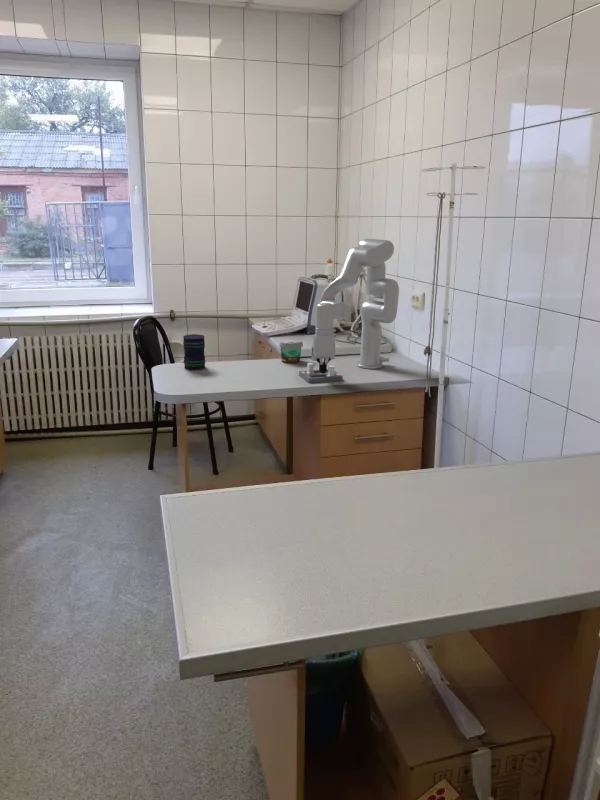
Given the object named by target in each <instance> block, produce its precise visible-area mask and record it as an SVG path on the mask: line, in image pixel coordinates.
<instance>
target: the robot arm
mask: <svg viewBox="0 0 600 800" xmlns="http://www.w3.org/2000/svg"><path fill="white" fill-rule="evenodd" d="M394 252H395V246H394V244H393V242H392V241H390V240H388V239H378V238H377V239H376V238H363V239H361V240H360V241H359V243H358V246H355V247H352V248H350V249H349V251H348V252H347V255H346V257H345V260H344V262H343V265H342V267H341V269H340V272H339V275H338V277H337V278H335V279H334V280H333V281H332V282H330V284H329V285H327V286H326V287H325V289H324V290H323V291H322V294H321V297H320V299H319V301H318V304H316V307H315V333H314V334H313V335H312V340H311V346H310V355H311V360H312V361H314V362H317V363H318V370H319V371H320V372H321V373H322V374H323V373H326V371H327V369H328V364H329V363H330V361H333V360H335V359H336V357H335V356H336V339H335V335H334V333H335V332H336V331H337V329H336V328H334V320H344V319H346V318H347V317H348V316H349V314H350V307H349V304H348V303H345V302H343V301H338V300H334V298H335V297H336V296H337V294H339V293H341V292H342V291H345V290H346V289H350V288H353V287H355V286H356V285H357V283H358V281H359V278H360V276H361V273H362V270H363V269H364V268H367V270H366V282H365V294H366V295H367V296H368V297H369V298H374V299H381V300H383V301H380V300H374V299H373V300H372V299H370V300H365V301H364V302H363V303H362V304H361V306H360V319H361V338H360V355H359V356H360V358H359V361H357V362H356V366H357V367H359V368H361V369H369V370H371V369H373V370H375V369H381V368H383V367H384V363H385V362H390V358H389V357H384V356H381V352H382V351H381V348H382V335H383V334H382V331H383V330H382V327H381V324H382V323H383V324H392V323H393V322H394V321H395V320H396V318H397V314H398V308H399V307H398V306H399V296H400V287H399V283H398V282H397V281H396V280H395V279H393V278H387V277H386V269H387V267H386V263H385V262H387V261H388V260H390V259H391V258H392V256H393V254H394Z"/></svg>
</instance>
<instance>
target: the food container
mask: <svg viewBox="0 0 600 800" xmlns="http://www.w3.org/2000/svg"><path fill="white" fill-rule="evenodd" d="M278 346H279V347H280V358H281V363H284V364H298V363H300V362H301V353H302V347H303V346H304V343H303V341H302V340H300V341H298V342H292V341H291V342H290V341H289V342H287V343H284V342H281V341H280V342H279V345H278Z"/></svg>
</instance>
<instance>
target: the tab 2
mask: <svg viewBox="0 0 600 800" xmlns="http://www.w3.org/2000/svg"><path fill="white" fill-rule="evenodd" d="M327 369H328V375H326V376H335V375H334V371H335V366H334V365H327Z"/></svg>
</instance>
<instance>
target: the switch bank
mask: <svg viewBox="0 0 600 800" xmlns="http://www.w3.org/2000/svg"><path fill="white" fill-rule="evenodd" d="M306 372H307V370H298V376H299V377H300V378H302V379H303V380H304V381H305V382H306V383H308V384H314V383H316V384H317V383H328V382H339V381H343V375H342V374H340V373H339V372H337V371H336V370H334V375H335V376H326V375H328V368H327V371H326V373H323V374H322V373H321V372H320V371H319V369H313V372H314V373H308V374H307V373H306Z"/></svg>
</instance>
